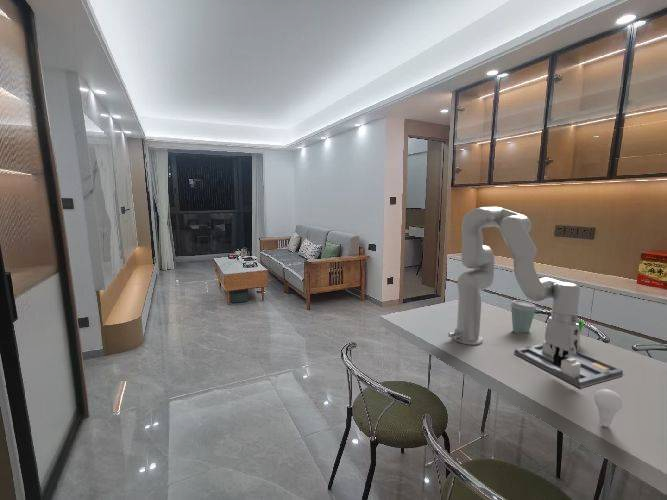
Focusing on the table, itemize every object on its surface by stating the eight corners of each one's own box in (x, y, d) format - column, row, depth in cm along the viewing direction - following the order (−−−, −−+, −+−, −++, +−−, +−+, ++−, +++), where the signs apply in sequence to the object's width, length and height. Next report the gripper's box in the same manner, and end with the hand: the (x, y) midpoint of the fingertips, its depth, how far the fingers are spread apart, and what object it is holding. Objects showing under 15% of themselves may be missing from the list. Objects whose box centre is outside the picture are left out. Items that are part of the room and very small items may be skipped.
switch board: (579, 389, 113) (580, 382, 112) (514, 355, 137) (514, 349, 136) (621, 377, 120) (622, 370, 120) (553, 346, 144) (553, 341, 144)
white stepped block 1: (551, 357, 131) (552, 343, 130) (542, 352, 135) (543, 339, 134) (558, 355, 133) (560, 342, 132) (549, 351, 136) (550, 338, 135)
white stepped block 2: (571, 378, 116) (573, 363, 115) (560, 372, 120) (561, 358, 119) (579, 376, 118) (581, 361, 117) (568, 370, 121) (569, 356, 120)
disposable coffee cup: (520, 327, 166) (522, 297, 163) (539, 335, 156) (542, 304, 153) (503, 329, 163) (505, 300, 160) (521, 338, 152) (524, 307, 150)
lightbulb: (585, 419, 98) (590, 385, 96) (604, 418, 98) (609, 384, 96) (603, 434, 92) (609, 397, 90) (624, 433, 92) (630, 396, 90)
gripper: (593, 322, 114) (586, 372, 117) (551, 309, 128) (546, 354, 131) (577, 325, 111) (571, 376, 114) (537, 311, 125) (532, 357, 128)
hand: (558, 364), depth 122 cm, fingers closed
